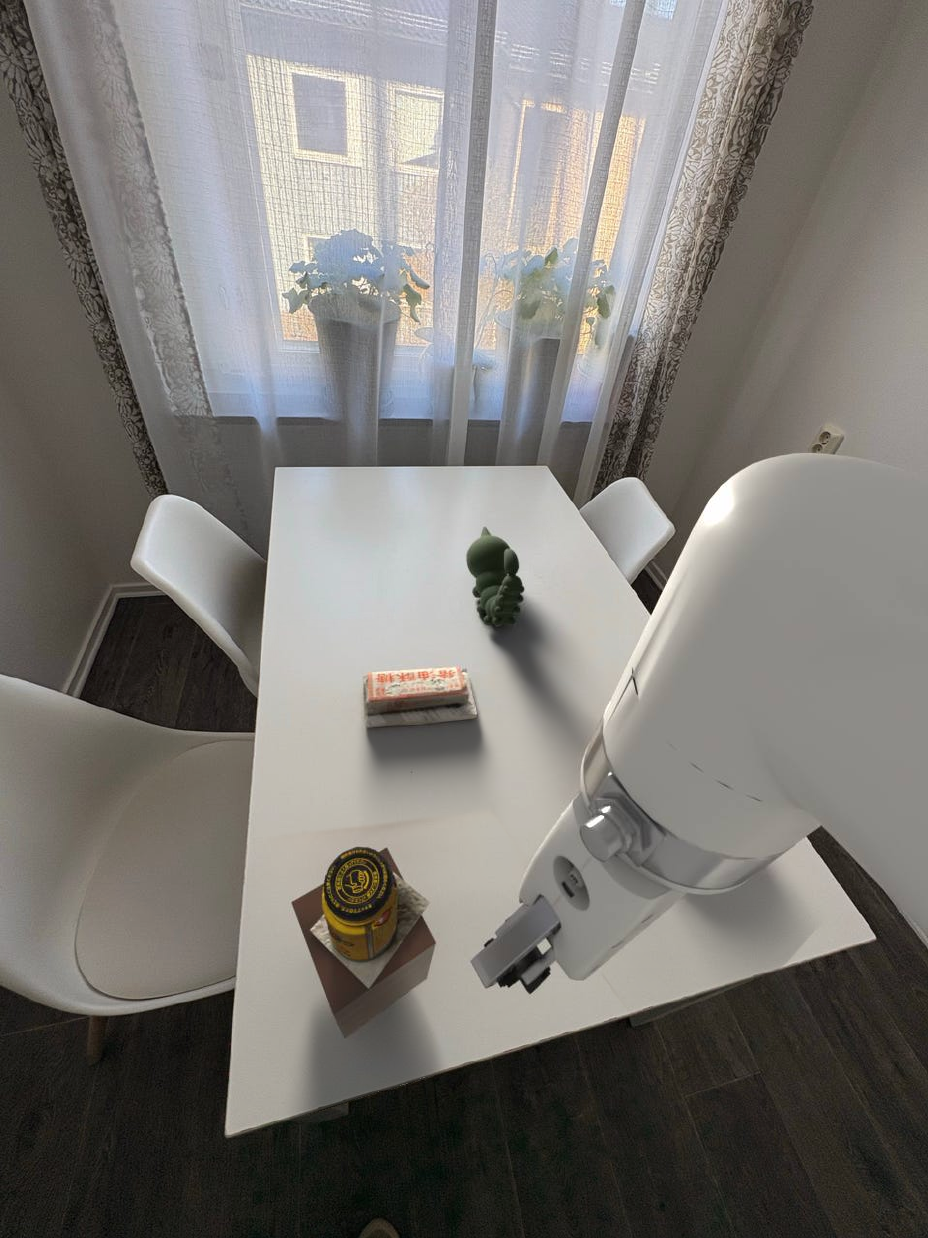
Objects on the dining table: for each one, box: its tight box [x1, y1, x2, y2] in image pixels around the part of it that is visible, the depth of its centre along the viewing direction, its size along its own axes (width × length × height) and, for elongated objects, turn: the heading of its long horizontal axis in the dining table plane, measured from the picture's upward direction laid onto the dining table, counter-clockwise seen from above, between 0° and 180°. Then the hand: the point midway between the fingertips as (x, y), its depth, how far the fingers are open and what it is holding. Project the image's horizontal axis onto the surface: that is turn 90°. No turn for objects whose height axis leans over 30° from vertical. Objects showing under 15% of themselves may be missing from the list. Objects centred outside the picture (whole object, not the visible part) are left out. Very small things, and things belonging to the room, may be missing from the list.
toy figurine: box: [465, 526, 525, 627], centre depth 99 cm, size 9×19×25 cm
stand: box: [290, 847, 437, 1039], centre depth 53 cm, size 10×10×16 cm
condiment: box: [310, 846, 431, 989], centre depth 44 cm, size 7×8×12 cm
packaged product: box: [362, 666, 478, 728], centre depth 84 cm, size 18×5×10 cm
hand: (576, 914), depth 32 cm, fingers open, 9 cm apart
